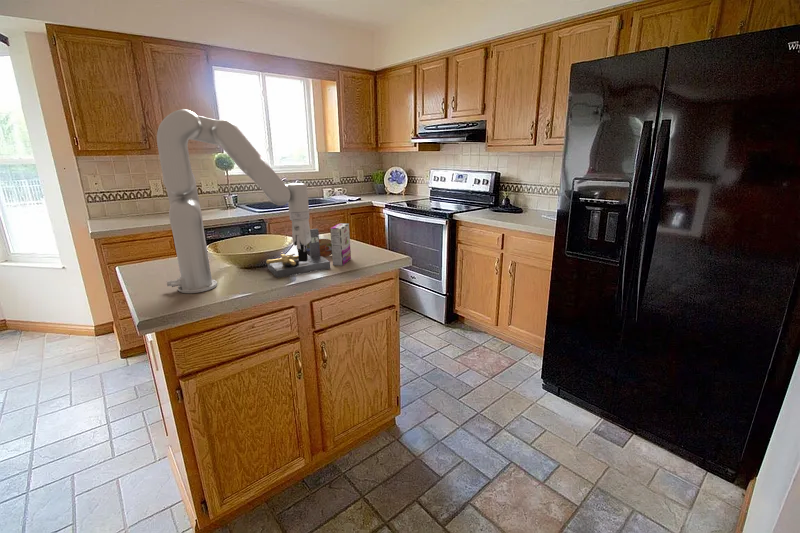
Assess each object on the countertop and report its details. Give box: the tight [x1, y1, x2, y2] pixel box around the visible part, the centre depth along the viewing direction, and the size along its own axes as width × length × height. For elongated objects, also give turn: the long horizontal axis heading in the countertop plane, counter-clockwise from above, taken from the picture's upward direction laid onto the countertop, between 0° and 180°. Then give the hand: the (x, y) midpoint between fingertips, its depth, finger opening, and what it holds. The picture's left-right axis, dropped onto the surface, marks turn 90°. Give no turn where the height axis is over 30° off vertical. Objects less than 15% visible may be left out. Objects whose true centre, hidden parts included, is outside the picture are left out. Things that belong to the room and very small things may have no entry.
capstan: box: [266, 253, 309, 266], centre depth 151 cm, size 17×17×4 cm
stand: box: [266, 228, 331, 279], centre depth 155 cm, size 22×14×15 cm, turn 123°
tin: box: [307, 238, 332, 258], centre depth 176 cm, size 15×3×8 cm, turn 77°
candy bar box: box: [329, 223, 352, 267], centre depth 164 cm, size 11×5×16 cm, turn 168°
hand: (303, 260), depth 151 cm, fingers closed
